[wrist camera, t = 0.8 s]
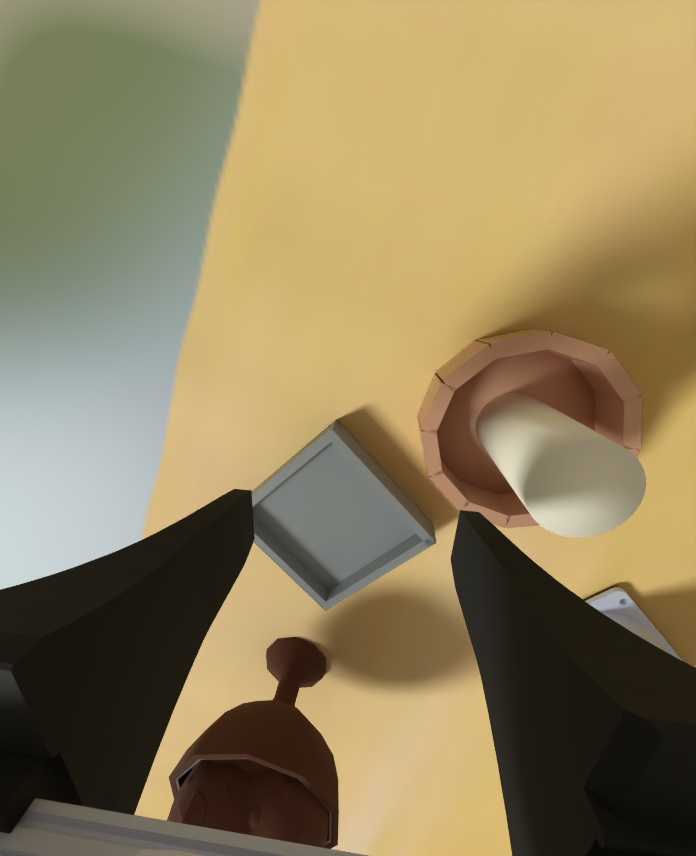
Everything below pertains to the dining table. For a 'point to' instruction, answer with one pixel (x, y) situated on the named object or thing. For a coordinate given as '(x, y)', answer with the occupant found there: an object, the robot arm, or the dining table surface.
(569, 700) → the robot arm
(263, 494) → the tray
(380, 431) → the dining table surface
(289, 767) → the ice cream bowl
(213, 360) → the dining table surface
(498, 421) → the peg
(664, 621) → the dining table surface
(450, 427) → the terracotta bowl
